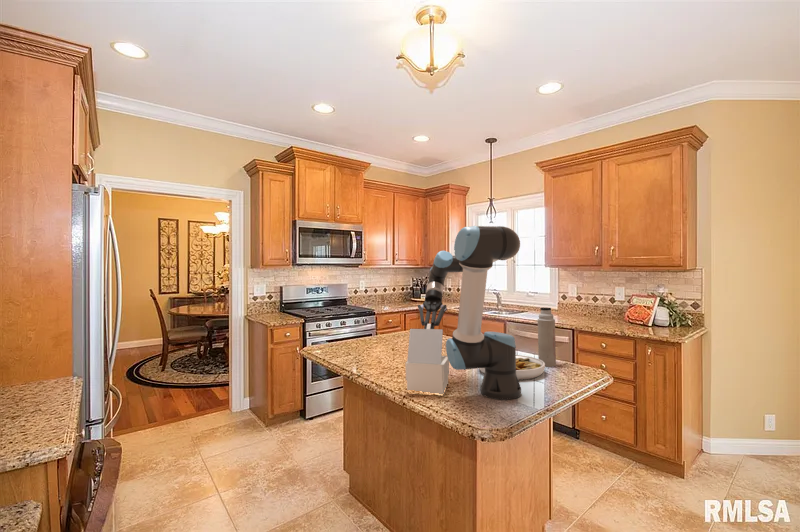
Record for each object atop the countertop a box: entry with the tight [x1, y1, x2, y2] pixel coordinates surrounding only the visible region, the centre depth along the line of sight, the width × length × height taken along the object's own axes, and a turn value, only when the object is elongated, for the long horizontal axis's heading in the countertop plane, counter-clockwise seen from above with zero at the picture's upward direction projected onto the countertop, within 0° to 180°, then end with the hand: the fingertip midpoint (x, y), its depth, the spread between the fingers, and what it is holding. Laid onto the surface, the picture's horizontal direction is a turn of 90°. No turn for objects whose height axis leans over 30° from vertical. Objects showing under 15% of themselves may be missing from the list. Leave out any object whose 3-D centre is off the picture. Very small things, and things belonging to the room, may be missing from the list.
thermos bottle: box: [537, 307, 557, 368], centre depth 186 cm, size 8×8×28 cm
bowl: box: [478, 354, 546, 381], centre depth 176 cm, size 30×30×8 cm
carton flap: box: [406, 328, 444, 364], centre depth 149 cm, size 13×13×1 cm
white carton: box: [404, 355, 450, 394], centre depth 154 cm, size 15×15×12 cm
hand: (427, 338), depth 154 cm, fingers closed
